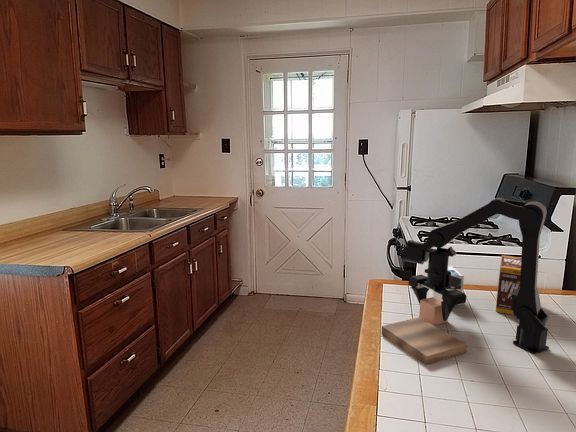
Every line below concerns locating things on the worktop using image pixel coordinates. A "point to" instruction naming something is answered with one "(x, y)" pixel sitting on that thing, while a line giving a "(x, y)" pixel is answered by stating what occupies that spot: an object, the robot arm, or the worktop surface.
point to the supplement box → (508, 283)
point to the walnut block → (424, 340)
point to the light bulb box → (456, 274)
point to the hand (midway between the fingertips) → (433, 314)
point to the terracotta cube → (431, 310)
